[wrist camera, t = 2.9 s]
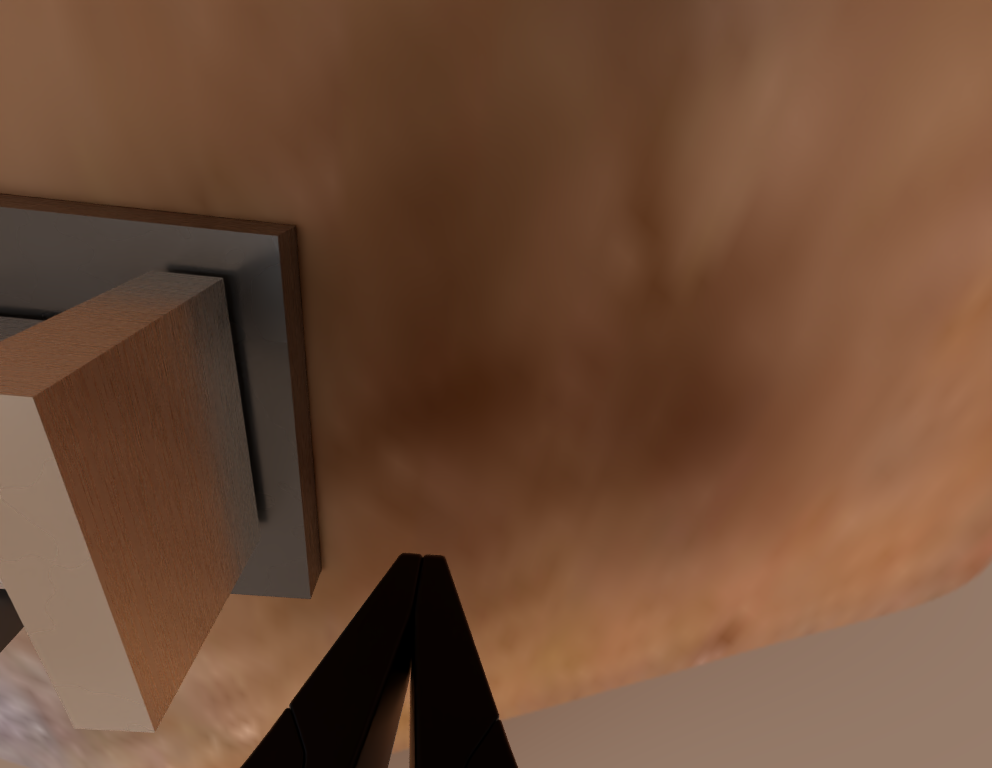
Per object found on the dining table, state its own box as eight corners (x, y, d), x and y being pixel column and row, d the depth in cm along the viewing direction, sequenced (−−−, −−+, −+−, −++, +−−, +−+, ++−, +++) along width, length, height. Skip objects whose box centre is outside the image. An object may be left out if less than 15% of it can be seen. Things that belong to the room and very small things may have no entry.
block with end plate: (223, 277, 12) (32, 396, 7) (267, 580, 16) (172, 780, 11) (-132, 241, 11) (-604, 342, 6) (17, 563, 16) (-191, 763, 11)
